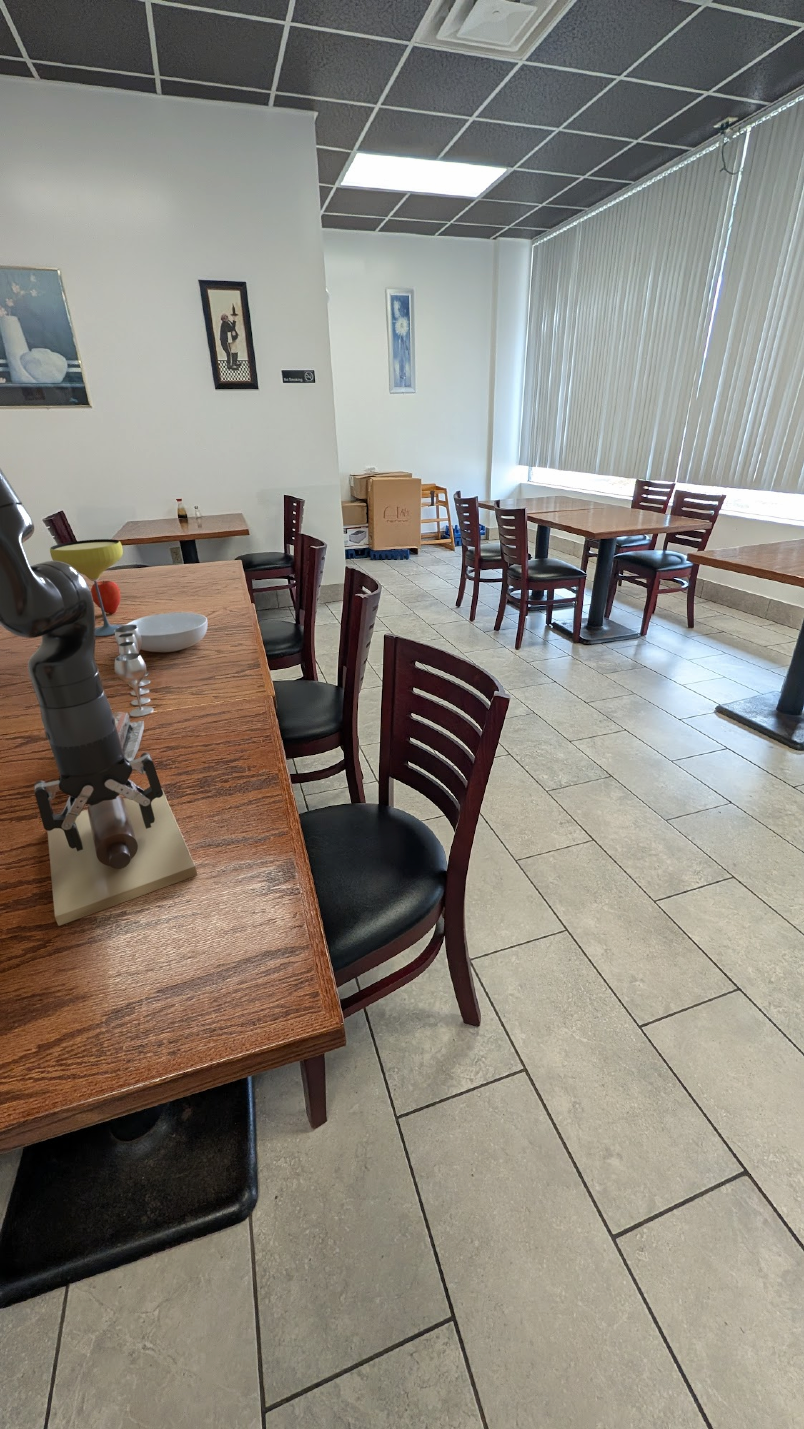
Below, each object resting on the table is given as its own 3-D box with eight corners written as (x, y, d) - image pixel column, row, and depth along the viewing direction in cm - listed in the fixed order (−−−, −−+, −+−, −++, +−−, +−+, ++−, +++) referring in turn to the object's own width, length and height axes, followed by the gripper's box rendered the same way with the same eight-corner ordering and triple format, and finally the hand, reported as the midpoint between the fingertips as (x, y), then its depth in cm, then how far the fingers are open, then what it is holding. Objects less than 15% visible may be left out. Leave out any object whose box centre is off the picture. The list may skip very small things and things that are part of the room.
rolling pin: (92, 819, 85) (81, 792, 83) (127, 807, 87) (117, 780, 85) (105, 883, 72) (92, 853, 70) (145, 867, 74) (134, 838, 72)
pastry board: (58, 926, 68) (54, 916, 67) (49, 829, 85) (46, 821, 85) (197, 875, 75) (195, 865, 75) (163, 795, 92) (161, 787, 92)
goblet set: (126, 674, 141) (112, 620, 135) (151, 669, 143) (139, 617, 137) (126, 720, 118) (110, 658, 112) (156, 714, 120) (142, 653, 114)
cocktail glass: (80, 626, 179) (56, 542, 168) (143, 619, 183) (124, 537, 173) (68, 644, 163) (41, 552, 152) (138, 636, 168) (116, 546, 157)
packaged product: (124, 749, 96) (58, 758, 94) (131, 774, 99) (67, 783, 97) (140, 705, 112) (84, 712, 110) (146, 727, 114) (91, 735, 112)
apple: (92, 617, 187) (83, 584, 182) (102, 610, 194) (93, 578, 190) (119, 616, 187) (111, 582, 183) (128, 609, 195) (120, 576, 190)
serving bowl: (171, 665, 145) (165, 638, 142) (112, 654, 154) (105, 629, 151) (227, 640, 162) (223, 615, 159) (171, 631, 171) (166, 608, 168)
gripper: (138, 705, 78) (163, 806, 85) (15, 733, 72) (53, 839, 79) (148, 726, 72) (174, 832, 79) (15, 759, 66) (56, 871, 73)
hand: (114, 836), depth 79 cm, fingers open, 8 cm apart
